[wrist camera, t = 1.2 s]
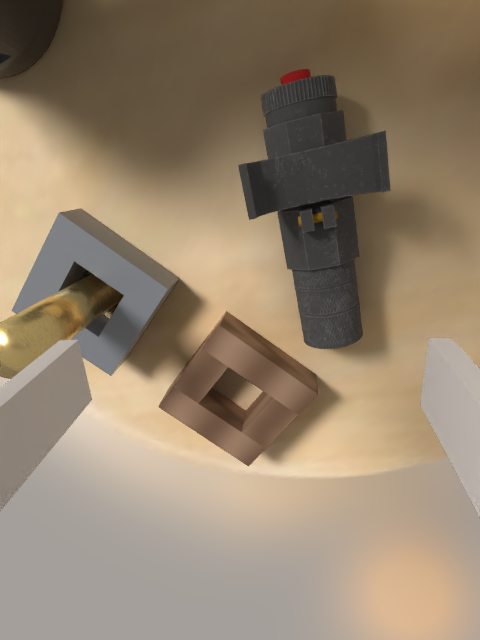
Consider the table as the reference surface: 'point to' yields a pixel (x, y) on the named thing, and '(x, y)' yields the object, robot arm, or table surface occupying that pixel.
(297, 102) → the laser sight
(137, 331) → the mount block
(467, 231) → the table surface
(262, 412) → the dock block
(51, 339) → the brass pin
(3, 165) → the table surface
